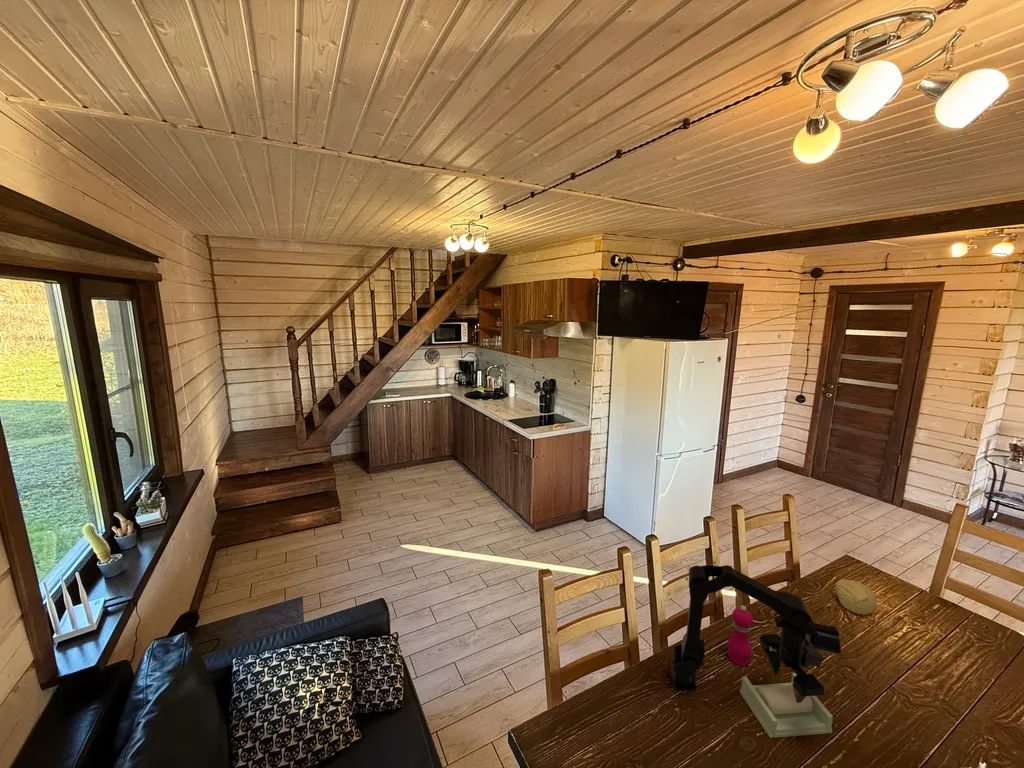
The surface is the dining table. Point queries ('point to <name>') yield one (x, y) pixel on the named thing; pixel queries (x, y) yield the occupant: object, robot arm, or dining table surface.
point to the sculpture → (856, 596)
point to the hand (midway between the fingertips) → (786, 687)
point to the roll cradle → (786, 723)
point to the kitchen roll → (784, 700)
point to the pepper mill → (740, 637)
